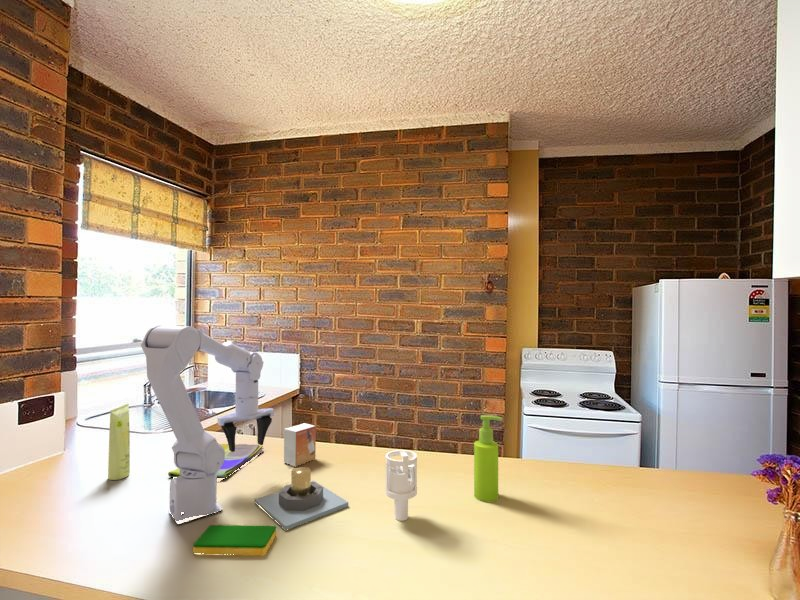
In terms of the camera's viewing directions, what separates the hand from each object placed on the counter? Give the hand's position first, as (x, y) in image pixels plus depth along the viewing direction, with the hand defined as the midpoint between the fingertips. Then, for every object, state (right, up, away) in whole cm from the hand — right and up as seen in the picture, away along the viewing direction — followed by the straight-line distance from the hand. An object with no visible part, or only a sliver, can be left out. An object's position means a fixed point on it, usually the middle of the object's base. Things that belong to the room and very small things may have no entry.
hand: (246, 447), depth 110 cm
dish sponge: (+9, -10, -29) cm, 31 cm away
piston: (+18, -8, -12) cm, 23 cm away
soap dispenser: (+63, -10, -8) cm, 64 cm away
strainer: (+42, -9, -18) cm, 46 cm away
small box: (+11, -10, +15) cm, 21 cm away
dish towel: (-13, -10, +13) cm, 21 cm away
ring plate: (+18, -9, -12) cm, 24 cm away
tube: (-37, -10, +3) cm, 38 cm away
